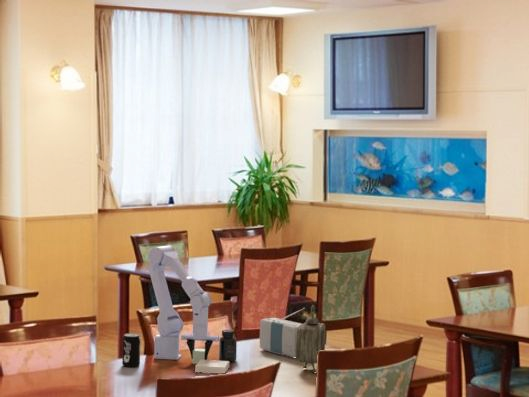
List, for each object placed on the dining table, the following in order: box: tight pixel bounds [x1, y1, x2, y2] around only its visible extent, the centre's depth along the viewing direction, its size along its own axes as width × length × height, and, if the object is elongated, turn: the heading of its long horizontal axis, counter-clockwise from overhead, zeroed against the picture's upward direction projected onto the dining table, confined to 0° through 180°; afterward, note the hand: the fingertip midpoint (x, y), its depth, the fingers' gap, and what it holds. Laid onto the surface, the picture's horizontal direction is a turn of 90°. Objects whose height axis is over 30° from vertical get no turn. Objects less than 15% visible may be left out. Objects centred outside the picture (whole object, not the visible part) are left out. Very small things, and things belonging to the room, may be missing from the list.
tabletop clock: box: [295, 304, 326, 373], centre depth 405 cm, size 14×9×25 cm, turn 168°
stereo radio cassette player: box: [259, 307, 306, 358], centre depth 433 cm, size 21×8×20 cm, turn 42°
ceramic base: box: [194, 359, 230, 374], centre depth 401 cm, size 11×11×3 cm
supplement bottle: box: [218, 329, 238, 363], centre depth 417 cm, size 7×7×12 cm
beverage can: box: [121, 332, 141, 368], centre depth 403 cm, size 7×7×12 cm
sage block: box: [192, 348, 205, 365], centre depth 412 cm, size 4×4×5 cm
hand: (199, 359), depth 412 cm, fingers closed on sage block, 4 cm apart
